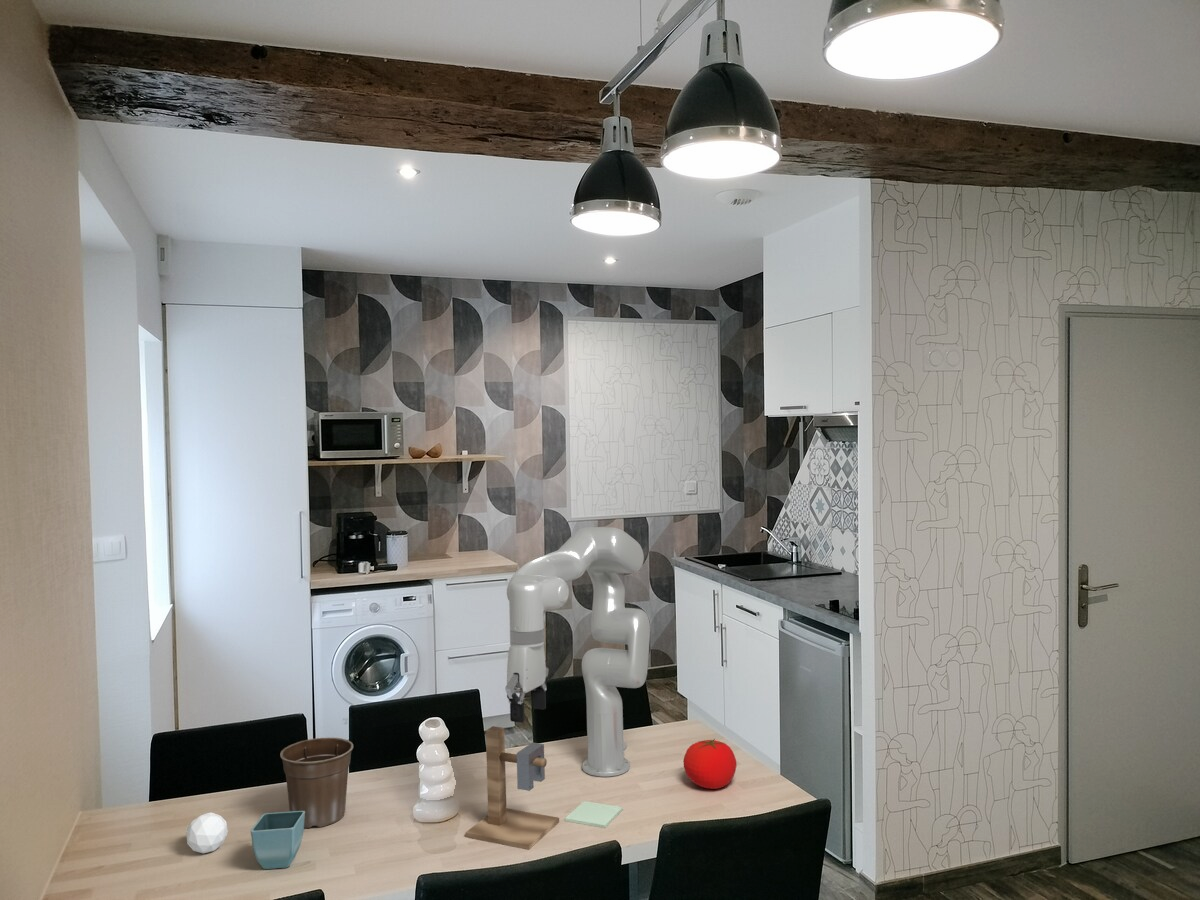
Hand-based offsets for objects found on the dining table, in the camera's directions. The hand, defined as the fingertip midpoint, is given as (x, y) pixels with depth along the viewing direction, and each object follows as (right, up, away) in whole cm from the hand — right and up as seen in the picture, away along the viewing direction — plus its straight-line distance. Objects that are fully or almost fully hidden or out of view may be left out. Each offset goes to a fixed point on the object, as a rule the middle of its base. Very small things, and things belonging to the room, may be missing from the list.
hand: (528, 715), depth 184 cm
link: (+1, -15, 0) cm, 15 cm away
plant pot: (-50, -28, +11) cm, 58 cm away
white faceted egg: (-71, -28, -2) cm, 76 cm away
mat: (+14, -26, +8) cm, 31 cm away
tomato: (+43, -25, +24) cm, 56 cm away
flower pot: (-51, -28, -10) cm, 59 cm away
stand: (-3, -26, +2) cm, 27 cm away
